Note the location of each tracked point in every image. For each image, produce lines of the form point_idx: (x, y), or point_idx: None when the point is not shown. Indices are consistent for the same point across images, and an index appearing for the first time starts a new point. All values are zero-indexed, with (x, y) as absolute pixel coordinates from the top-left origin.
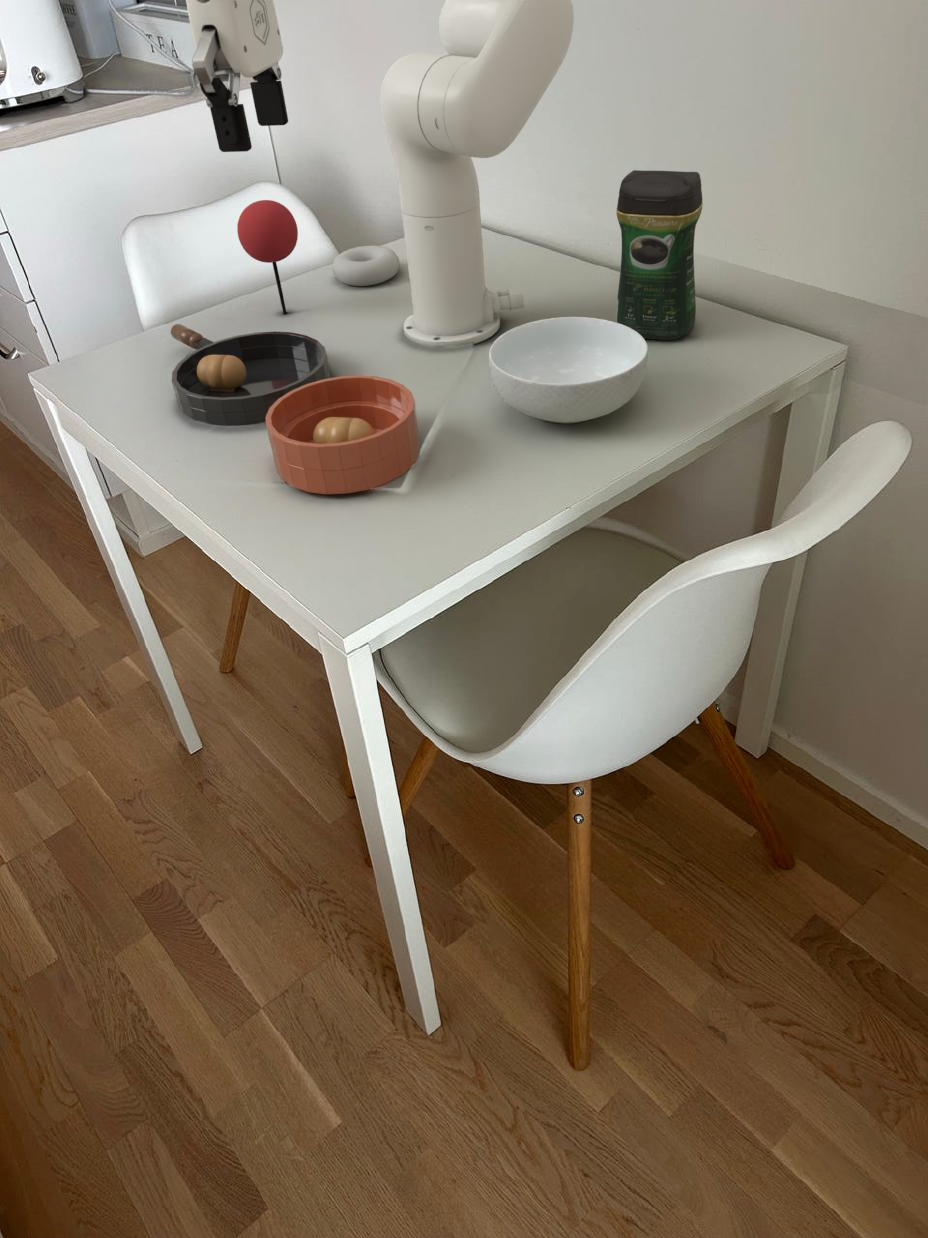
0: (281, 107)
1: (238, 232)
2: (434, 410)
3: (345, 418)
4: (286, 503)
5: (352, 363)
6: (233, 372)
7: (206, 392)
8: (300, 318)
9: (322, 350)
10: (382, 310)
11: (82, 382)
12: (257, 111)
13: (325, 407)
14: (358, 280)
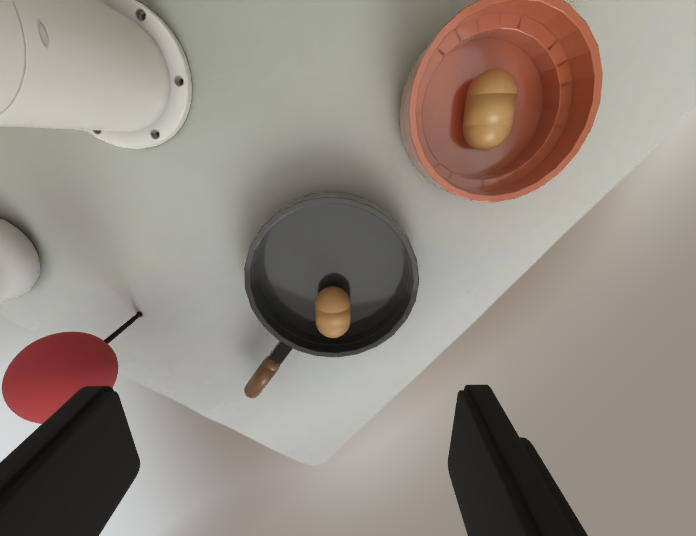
0: (69, 438)
1: None
2: (358, 35)
3: (494, 104)
4: None
5: (249, 188)
6: (344, 296)
7: None
8: (147, 292)
9: (289, 210)
10: (96, 199)
11: (326, 430)
12: (111, 509)
13: (427, 156)
14: (34, 253)
